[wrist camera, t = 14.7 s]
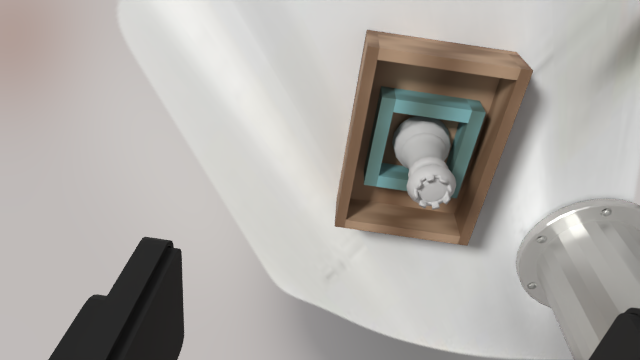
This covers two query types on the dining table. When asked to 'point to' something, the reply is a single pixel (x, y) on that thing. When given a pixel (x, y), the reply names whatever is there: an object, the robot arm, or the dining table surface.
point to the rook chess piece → (425, 160)
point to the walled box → (435, 102)
